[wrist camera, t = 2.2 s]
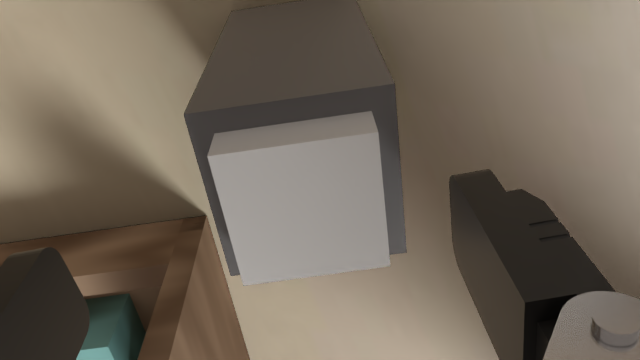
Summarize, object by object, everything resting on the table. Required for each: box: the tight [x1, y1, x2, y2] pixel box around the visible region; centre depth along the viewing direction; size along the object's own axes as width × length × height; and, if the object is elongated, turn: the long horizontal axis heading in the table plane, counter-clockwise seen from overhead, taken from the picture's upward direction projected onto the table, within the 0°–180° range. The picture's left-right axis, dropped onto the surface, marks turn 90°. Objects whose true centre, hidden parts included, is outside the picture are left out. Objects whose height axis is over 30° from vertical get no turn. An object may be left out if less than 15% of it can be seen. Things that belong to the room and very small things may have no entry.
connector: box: [184, 0, 407, 286], centre depth 15 cm, size 4×4×10 cm
